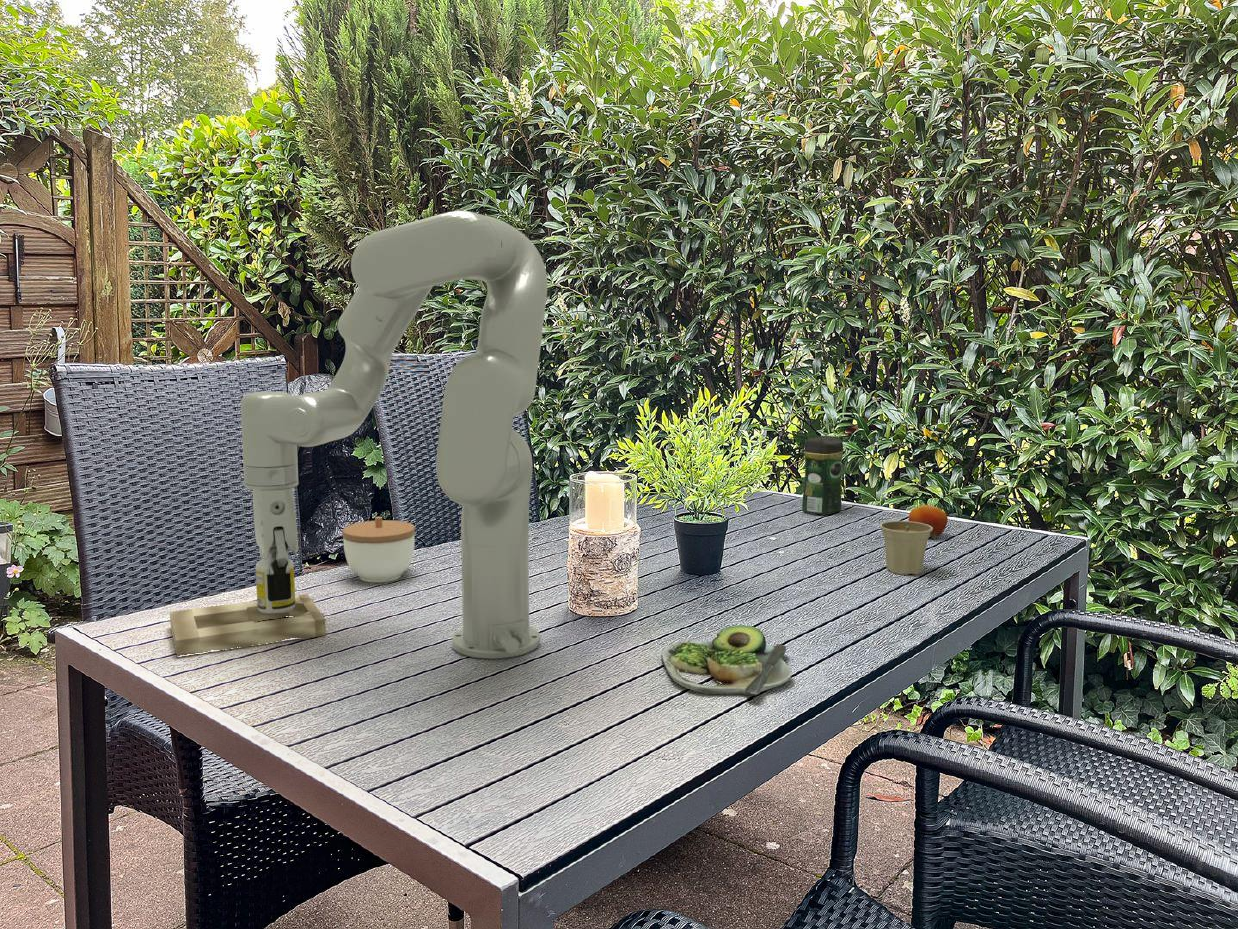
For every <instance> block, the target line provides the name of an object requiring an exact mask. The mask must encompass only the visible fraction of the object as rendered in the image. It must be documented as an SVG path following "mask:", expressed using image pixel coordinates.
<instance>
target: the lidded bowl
mask: <svg viewBox="0 0 1238 929" xmlns="http://www.w3.org/2000/svg"><path fill="white" fill-rule="evenodd" d="M341 532H342V539H343V550H344V555H345V559H346V562H347V564H348V566H349V568H350V569H351V570H352V572H353V573H354V574H355V575H356V576H358V577H359V580H360V581H362V582H364V583H365V582H366V583H373V584H374V583H388V582H394V581H396V580H398V579H399V580H400V578H401V577H402V574H403V573H404V572H405V571H406V570H407V569H408V568H409V566H410V565H411V563H412V560H413V557H414V551H415V534H416V527H415V525H414V524H412V523H410V522H407V521H402V520H393V519H392V520H390V519H389V520H387V519H385V520H383V517H382V516H375V518H374V520H367V521H361V522H356V523H352V524H349V525H347V526H345V527H343V528H342V531H341Z"/></svg>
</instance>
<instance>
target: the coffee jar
mask: <svg viewBox="0 0 1238 929" xmlns="http://www.w3.org/2000/svg"><path fill="white" fill-rule="evenodd" d="M843 454H844V443H843V439H841V438H840V437H839V436H833V435H819V436H817V437H816V436H815V437H810V438H808V439H807V440H805V441H804V447H803V455H804V465H805V466H804V481H803V482H804V484H803V492H802V504H801V505H802V506H801V510H802V511H803V512H805V513H807V514H808V515H813V516H816V515H821V516H826V515H831V514H832V515H833V514H836V513H837V512H840V511H842V459H843Z"/></svg>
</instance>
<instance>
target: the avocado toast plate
mask: <svg viewBox="0 0 1238 929" xmlns="http://www.w3.org/2000/svg"><path fill="white" fill-rule="evenodd" d="M786 651H787V646H786V645H783V644H782V643H781V644H780V643H777V644H776V645H773V646H772V645H769V644H768V643H767V640H766V637H765V635H764V633H763V632H762V631H761V630H760V629H759V628H757V627H755V626H752V625H746V624H745V625H744V624H742V625H734V626H733V625H732V626H729V627H725V628H723V629H721V630H720V632H717V633H716V637H715V638H713V639H712V640H711V641H710V640H709V641H708V640H707V641H706V640H705V641H704V640H703V641H700V640H699V641H698V640H691V641H690V640H687V641H685V640H684V641H677V642H674V643H671V644H669V645H668V646H666V647H664V648H663V649H662V651H661V654H660V655H661V663H662V665H663V666H664V667H665V669H666V672H667V674H668V675H669V676H670V678H671V679H672V680H673V681H674V682H675V683H676V684H678V685H680V686H681V687H683V688H684V687H685V689H686V690H689V689H690V691H692V690H693V691H692V692H696V693H699V692H700V693H699V694H705V693H707V695H713V694H714V695H715V694H731V695H750V696H757V695H760V693H762V692H765V691H768V690H770V689H774V688H777V687H779V686H781V685H783V684H785V683H787V682H788V681H790V680H791V678H792V674H793V673H792V671H791V669H790V667H789V666H788V664H787V662H785V660H784V659H783V656H784V655H785V654H786ZM678 670H682V671H681V672H685V671H687V672H686V673H690V672H692V673H691V674H696V673H699V674H698V675H703V674H705V676H708V675H711V676H712V677H714V678H715V679H714V678H713V679H714V682H716V681H718V682H721V683H722V684H720V683H719V684H720V685H719V684H715V685H708V684H703V683H697V682H694V681H693V680H689V679H686V678H685V677H684V676H683V675H682V674H681V672H680V671H679V672H680V673H679V672H678ZM681 675H682V676H683V677H684V678H683V677H682V676H681ZM712 677H711V678H712ZM718 682H717V683H718ZM714 695H713V696H714ZM715 696H716V695H715Z"/></svg>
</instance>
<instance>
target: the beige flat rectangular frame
mask: <svg viewBox="0 0 1238 929" xmlns="http://www.w3.org/2000/svg"><path fill="white" fill-rule="evenodd" d="M324 614H325V613H324V612H321V611H320V610H319V608H318V606H317V605H316V604H315V602H314V598H311V597H310V596H309V593H305V594H297V595H296V594H295V607H294V608H293V609H292V610H290V611H287V612H284V613H275V614H268V613H262V612H260V611H259V610H258V606H257V600H250V601H243V602H242V601H241V602H235V603H229V604H228V603H227V604H220V605H212V606H205V607H197V608H189V609H182V610H174V611H169V621H170V622H169V623H170V631H171V630H172V631H171V634H172V635H173V636H172V640H173V639H174V641H173V645H174V644H175V645H174V650H175V649H176V650H175V653H176V654H177V655H176V654H175V655H176V657H177V656H180V655H187V654H195V653H203V652H208V651H211V650H223V649H224V650H225V649H231V648H237V647H238V648H239V647H246V646H252V645H258V644H266V643H271V642H276V641H282V640H285V639H290V638H305V639H310V638H311V637H312V638H316V637H324V636H327V628H326V627H327V626H326V618H325V616H324ZM286 616H293V617H292V618H291V617H288V618H282V617H286ZM277 618H281V619H277ZM267 619H274V620H267ZM262 620H267V621H262ZM258 621H260V622H258ZM266 645H267V644H266ZM246 648H247V647H246ZM239 649H240V648H239Z"/></svg>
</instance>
